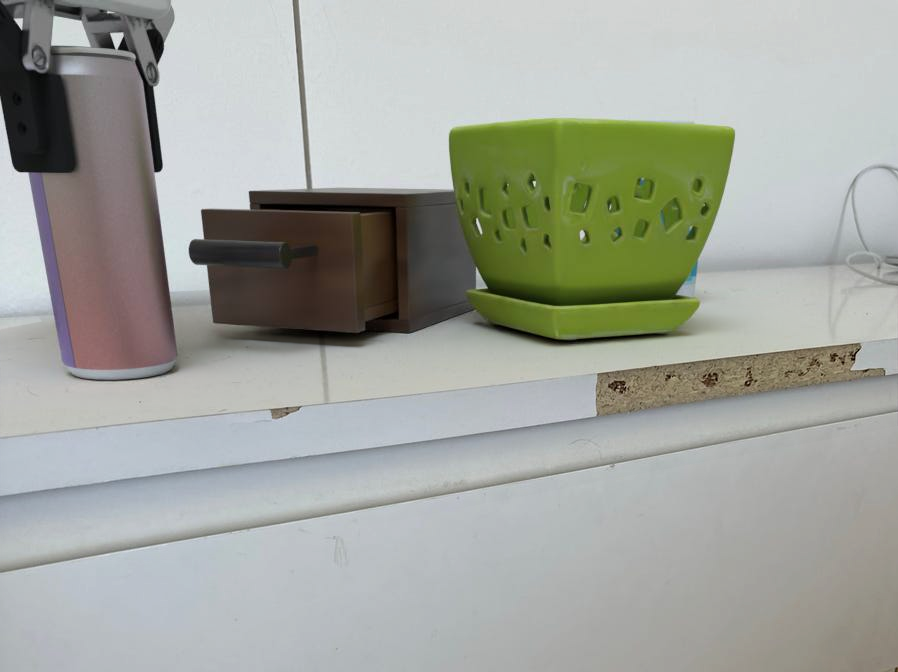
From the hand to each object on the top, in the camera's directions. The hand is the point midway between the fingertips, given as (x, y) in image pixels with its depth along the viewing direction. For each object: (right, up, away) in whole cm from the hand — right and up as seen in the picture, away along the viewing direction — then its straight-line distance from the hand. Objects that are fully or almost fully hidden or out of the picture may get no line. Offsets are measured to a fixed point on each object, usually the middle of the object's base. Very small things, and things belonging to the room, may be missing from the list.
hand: (92, 168), depth 49 cm
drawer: (+8, -2, +16) cm, 18 cm away
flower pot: (+26, -2, +19) cm, 33 cm away
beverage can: (0, -9, +5) cm, 10 cm away
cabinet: (+11, +1, +25) cm, 27 cm away
